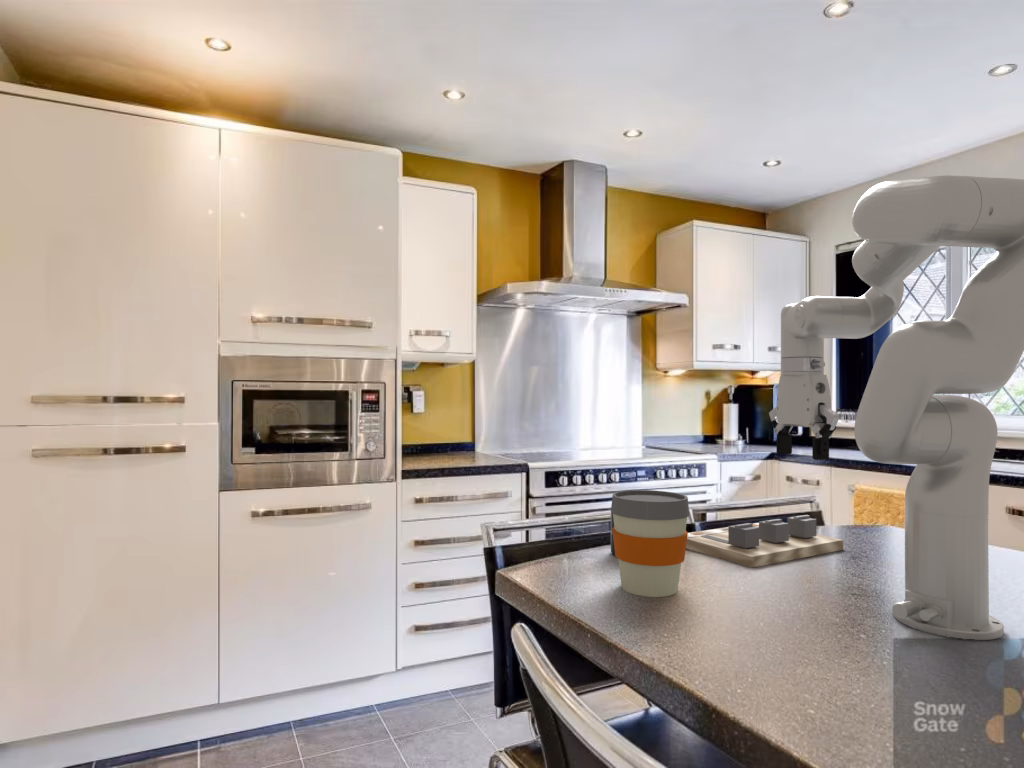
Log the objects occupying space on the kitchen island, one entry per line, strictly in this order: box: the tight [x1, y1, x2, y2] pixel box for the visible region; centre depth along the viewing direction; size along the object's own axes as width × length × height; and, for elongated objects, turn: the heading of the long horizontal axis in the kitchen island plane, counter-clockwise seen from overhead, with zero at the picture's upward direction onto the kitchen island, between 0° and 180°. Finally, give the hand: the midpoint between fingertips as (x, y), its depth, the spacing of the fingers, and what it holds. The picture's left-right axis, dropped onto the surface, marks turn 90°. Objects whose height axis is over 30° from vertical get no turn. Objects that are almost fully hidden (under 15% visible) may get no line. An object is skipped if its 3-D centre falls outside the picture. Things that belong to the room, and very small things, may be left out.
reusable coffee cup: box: [610, 489, 690, 598], centre depth 101 cm, size 13×13×15 cm
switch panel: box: [686, 522, 844, 569], centre depth 129 cm, size 28×20×2 cm
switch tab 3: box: [786, 514, 817, 538], centre depth 130 cm, size 4×4×4 cm
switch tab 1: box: [727, 522, 759, 548], centre depth 121 cm, size 4×4×4 cm
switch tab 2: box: [758, 518, 789, 543], centre depth 126 cm, size 4×4×4 cm
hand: (801, 456), depth 119 cm, fingers open, 9 cm apart
